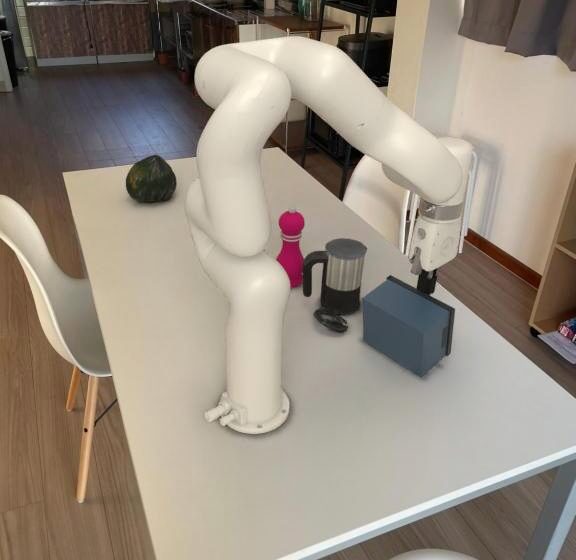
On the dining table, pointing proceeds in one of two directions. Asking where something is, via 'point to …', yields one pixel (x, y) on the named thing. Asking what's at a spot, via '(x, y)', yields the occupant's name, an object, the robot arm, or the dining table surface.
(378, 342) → the blue storage bin
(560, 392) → the dining table surface
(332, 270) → the milk frother
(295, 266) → the pepper mill
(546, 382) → the dining table surface
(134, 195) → the squash
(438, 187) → the robot arm
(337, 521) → the dining table surface
